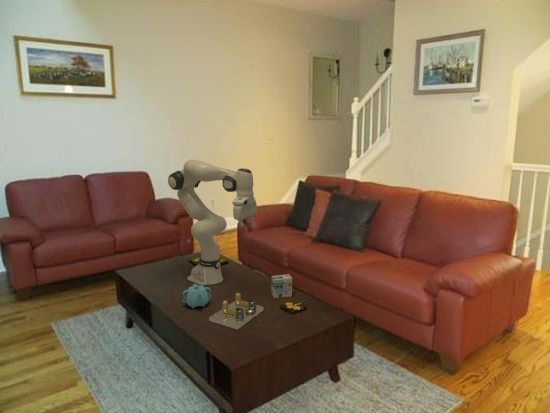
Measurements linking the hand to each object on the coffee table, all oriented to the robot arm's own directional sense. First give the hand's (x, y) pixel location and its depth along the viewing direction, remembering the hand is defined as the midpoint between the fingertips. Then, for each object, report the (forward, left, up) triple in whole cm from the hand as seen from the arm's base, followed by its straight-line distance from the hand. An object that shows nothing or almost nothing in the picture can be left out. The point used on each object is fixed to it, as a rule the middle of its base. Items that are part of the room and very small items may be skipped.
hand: (246, 224), depth 226 cm
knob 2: (+9, -15, -39) cm, 43 cm away
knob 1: (+9, -26, -39) cm, 48 cm away
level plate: (+9, -23, -41) cm, 48 cm away
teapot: (-16, -24, -41) cm, 50 cm away
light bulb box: (+16, +10, -41) cm, 46 cm away
